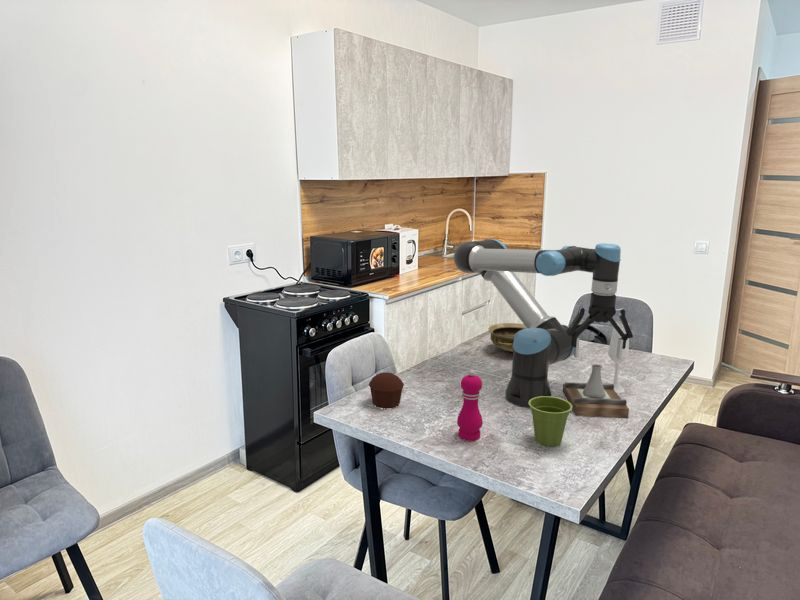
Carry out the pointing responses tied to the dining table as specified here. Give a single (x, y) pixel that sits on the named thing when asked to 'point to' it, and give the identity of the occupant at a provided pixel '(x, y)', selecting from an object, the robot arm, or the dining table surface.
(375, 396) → the muffin
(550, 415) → the plant pot
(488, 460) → the dining table surface
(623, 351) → the champagne flute
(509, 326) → the ceramic bowl
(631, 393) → the dining table surface
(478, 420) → the pepper mill
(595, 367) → the flask
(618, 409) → the dock
